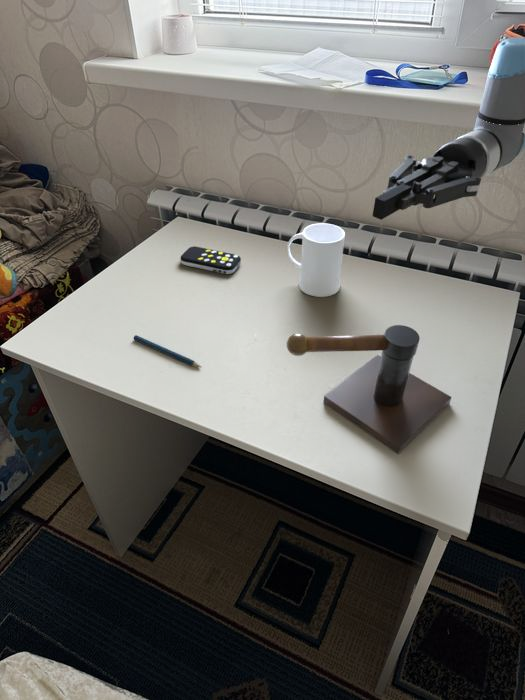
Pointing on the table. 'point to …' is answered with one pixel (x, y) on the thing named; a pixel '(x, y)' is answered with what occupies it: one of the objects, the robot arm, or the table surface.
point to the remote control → (210, 260)
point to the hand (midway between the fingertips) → (378, 208)
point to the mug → (320, 259)
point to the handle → (359, 343)
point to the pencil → (166, 351)
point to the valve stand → (387, 401)
